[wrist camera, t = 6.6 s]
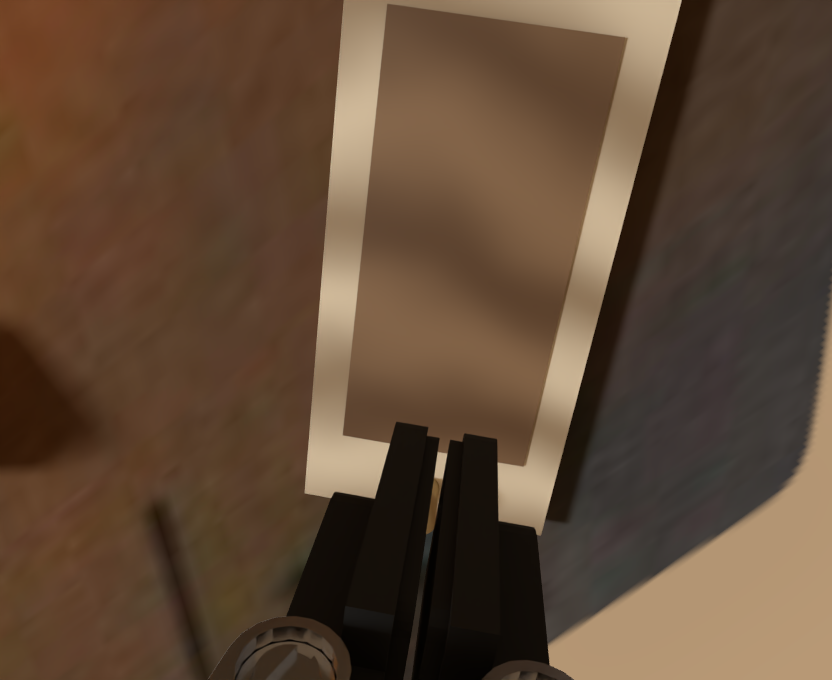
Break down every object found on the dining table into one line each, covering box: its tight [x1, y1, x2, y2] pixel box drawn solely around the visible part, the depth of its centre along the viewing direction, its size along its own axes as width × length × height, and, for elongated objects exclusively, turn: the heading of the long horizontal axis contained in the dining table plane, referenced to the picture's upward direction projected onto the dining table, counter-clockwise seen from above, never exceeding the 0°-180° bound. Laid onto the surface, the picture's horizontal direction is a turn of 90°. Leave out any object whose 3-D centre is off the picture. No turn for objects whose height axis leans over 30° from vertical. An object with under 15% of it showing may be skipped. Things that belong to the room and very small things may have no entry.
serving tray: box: [305, 0, 682, 535], centre depth 24 cm, size 24×11×4 cm, turn 172°
